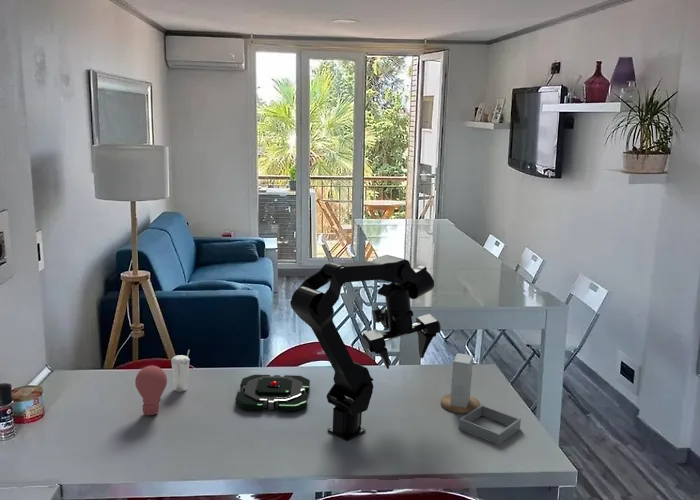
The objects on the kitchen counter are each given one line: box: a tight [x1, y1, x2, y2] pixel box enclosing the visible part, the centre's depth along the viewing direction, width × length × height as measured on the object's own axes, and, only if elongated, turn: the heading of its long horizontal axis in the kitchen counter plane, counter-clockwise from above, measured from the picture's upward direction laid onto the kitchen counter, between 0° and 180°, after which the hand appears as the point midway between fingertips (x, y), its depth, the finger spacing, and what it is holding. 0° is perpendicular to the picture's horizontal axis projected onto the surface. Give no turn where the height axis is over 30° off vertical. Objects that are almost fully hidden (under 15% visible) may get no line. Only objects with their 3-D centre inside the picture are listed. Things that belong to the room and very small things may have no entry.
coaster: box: [440, 393, 481, 415], centre depth 161 cm, size 10×10×1 cm
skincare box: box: [450, 353, 474, 408], centre depth 160 cm, size 6×4×12 cm
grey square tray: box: [457, 404, 522, 446], centre depth 149 cm, size 10×10×2 cm
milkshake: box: [170, 349, 191, 393], centre depth 163 cm, size 4×5×10 cm
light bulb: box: [134, 365, 168, 416], centre depth 149 cm, size 7×7×12 cm
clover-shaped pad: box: [234, 374, 311, 412], centre depth 162 cm, size 18×18×5 cm
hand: (404, 362), depth 156 cm, fingers open, 9 cm apart
